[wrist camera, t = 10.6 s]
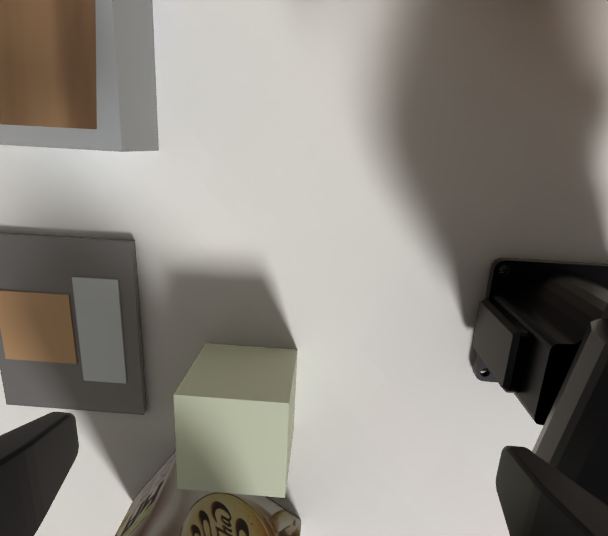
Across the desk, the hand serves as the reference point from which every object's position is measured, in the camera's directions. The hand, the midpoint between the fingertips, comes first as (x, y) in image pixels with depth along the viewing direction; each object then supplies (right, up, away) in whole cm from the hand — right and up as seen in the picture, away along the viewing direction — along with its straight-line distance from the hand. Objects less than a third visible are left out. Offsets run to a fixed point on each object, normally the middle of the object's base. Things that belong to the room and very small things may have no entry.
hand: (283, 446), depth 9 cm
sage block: (-3, -3, +15) cm, 15 cm away
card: (-12, +1, +14) cm, 19 cm away
